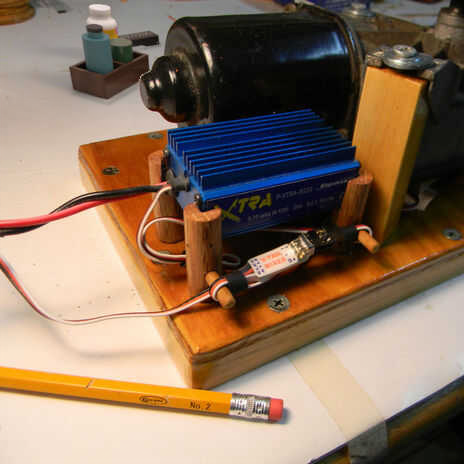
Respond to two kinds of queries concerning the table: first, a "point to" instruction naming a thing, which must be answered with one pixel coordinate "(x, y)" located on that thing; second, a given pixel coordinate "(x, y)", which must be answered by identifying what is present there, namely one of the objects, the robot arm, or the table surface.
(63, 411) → the table surface
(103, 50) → the water bottle
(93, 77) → the cup holder
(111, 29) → the supplement bottle
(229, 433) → the table surface
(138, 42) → the multiport hub
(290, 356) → the table surface
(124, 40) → the green jar
